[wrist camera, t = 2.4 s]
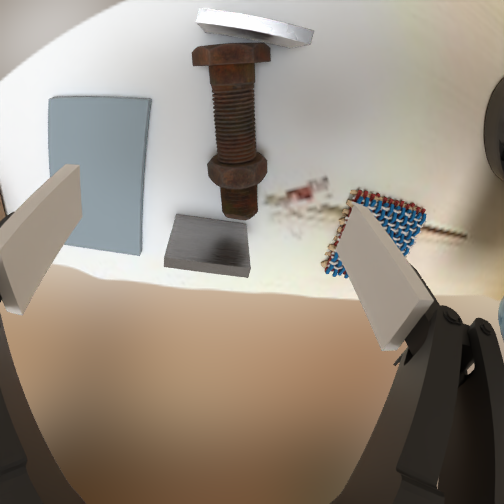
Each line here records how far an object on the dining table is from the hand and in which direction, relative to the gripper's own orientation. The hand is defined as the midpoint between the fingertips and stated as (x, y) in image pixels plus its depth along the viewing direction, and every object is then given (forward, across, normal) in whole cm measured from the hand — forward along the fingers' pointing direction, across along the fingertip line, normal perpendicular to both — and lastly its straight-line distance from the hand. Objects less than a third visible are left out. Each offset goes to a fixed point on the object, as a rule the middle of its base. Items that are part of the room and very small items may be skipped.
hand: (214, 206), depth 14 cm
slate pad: (+14, +11, +6) cm, 19 cm away
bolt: (+14, -1, 0) cm, 15 cm away
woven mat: (+14, -19, +8) cm, 25 cm away
